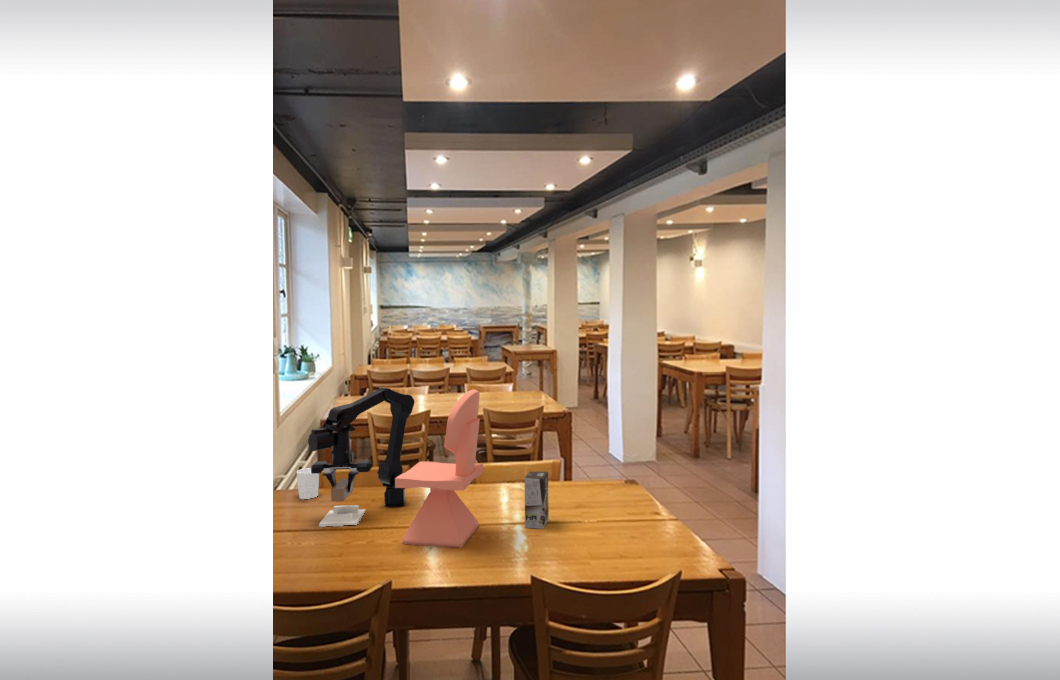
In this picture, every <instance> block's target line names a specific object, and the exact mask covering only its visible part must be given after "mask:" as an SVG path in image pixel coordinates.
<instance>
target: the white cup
mask: <svg viewBox="0 0 1060 680" xmlns="http://www.w3.org/2000/svg"><path fill="white" fill-rule="evenodd" d="M296 482H297V483H296V484H297V492H298V498H299V500H304V499H308V500H311V499H310V498H314V497H316V498H318V497H319V487H320V486H319V485H320V484H319V483H320V473H314V474H312V473H311V467H308V468H305V467H304V468H302V469H297V471H296ZM317 496H318V497H317ZM314 499H315V498H314Z"/></svg>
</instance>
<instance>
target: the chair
mask: <svg viewBox="0 0 1060 680" xmlns="http://www.w3.org/2000/svg"><path fill="white" fill-rule="evenodd" d="M479 404H480V391H479V390H477V389H474V388H473V389H470V390H469V391H466V392H465V393H464V394H463V395H462V396H461V397H459V398H458V400H457V401H456V402H455V403H454V405H453V406H452V408H451V410H450V413H449V414H448V418H447V422H446V429H445V430H446V431H445V439H444V444H443V447H444V448H445V449H446V450H448V451H449V452H451V453H453V455H454V456H455V457H454V458H455V463H448V462H447V463H444V462H437V461H422V460H421V461H418V462H417V463H416V464H415V465H413V467H412V468H411V467H410V469H409V470H407V471H406V472H403V474H401V475H399V476H398V477H396V478H395V488H405V489H414V488H415V489H416V488H417V489H418V488H424V489H425V488H426V489H427V488H428V489H429V490H430V491H429V493H428V494H427V496H426V498H425V500H424V501H423V503H422V505H421V506H420V508H419V510H418V511H417V513H416V514H415V517H414V518H413V520H412V522H411V523H410V525H409V527H408V528H407V530H406V532H405V534H404V535H403V537H402V540H401V541H402V542H401V543H402V544H401V545H410V544H411V545H412V546H428V547H429V546H430V547H440V548H441V547H442V546H443V547H444V548H445V547H446V548H457V547H459V549H460V548H461V549H462V548H463V547H464V545H465V544H466V543H467V542H468V540H469V539H470V538H471V537H472V535H473V534H475V532H476V531H477V529H479V527H480V525H479V523H480V522H479V521H478V519H477V518H476V517H475V515H474V514H473V513H472V512H471V510H470V509H469V508H468V507H467V505H466V504H465V502H464V501H463V500H462V498H460V497H459V495H458V494H457V492H455V491H460V492H461V491H462V492H463V491H465V490H466V489H468V487H469V486H470V484H471V483H472V481H474V480H475V479H476V478H478V477H480V476H481V475H482V474H483V472H484V468H483V467H484V464H483V463H476V458H477V456H476V455H477V449H478V440H479V431H480V430H479V429H480V419H481V418H478V416H479V408H480V407H479V406H480V405H479ZM411 545H410V546H411Z"/></svg>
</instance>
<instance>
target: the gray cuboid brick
mask: <svg viewBox="0 0 1060 680" xmlns="http://www.w3.org/2000/svg"><path fill="white" fill-rule="evenodd" d="M353 491H354V483H353V484H352V487H351V491H350V492H348V478H341V479H339V480H338V481H337V482H336V485H335V486H334V487H333V488H332V487H331V489H330V495H331V496H330V497H331V500H330V501H331V502H344V501H345V500H346V499H348V497H349V496H350V495H351V493H352V492H353Z"/></svg>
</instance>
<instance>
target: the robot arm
mask: <svg viewBox="0 0 1060 680" xmlns="http://www.w3.org/2000/svg"><path fill="white" fill-rule="evenodd" d="M383 402H385V403H387V404H389V405H390V409H389V410H390V413H391V416H392V421H391V426H390V431H389V432H390V433H389V440H388V443H387V452H386V455H385V456H386V457H385V459H384V460H383V462H379V463H378V469H377V473H376V474H377V475H378V476H377V477H378V480H379V481H380V482H381V485H382V487H385V491H384V492H383V493H384V497H383V498H384V499H383V500H384V504H385V505H384V507H385V508H393V507H394V508H395V507H398V508H399V507H405V504H406V502H407V499H406V488H395V478H396V477H398V476H399V475H401V474H403V473H404V471H403V465H402V462H401V461H402V460H401V456H402V451H403V445H404V438H405V432H406V425H407V419H409V417H410V415H411V414H412V412H413V409H414V406H415V398H414V397H413V396H412V395H410V394H405V393H400V392H397V391H394V390H392V389H391V388H389V387H383V386H382V387H379V388H378V389H376V390H375V391H373V392H371V393H369V394H367V395H365V396H363V397H360V398H359V399H357V400H355V401H353V402H351V403H348V404H347V403H346V404H342V405H341V404H340V405H338V406H334V407H332V408H331V409H330V410H329V412H328V416H327V417H326V419H325V421H324V423H323V425H322V426H321V428H318V429H317V428H315V429H314V428H312V429H311V431H310V434H309V436H308V439H307V444H308V447H309V449H310V451H312V452H315V451H321V450H328V449H330V448H331V459H332V463H328V461H327V460H320V461H318V460H317V461H315V462H314V463H313V464H312V465H311V467H310V468H311V473H312V474H314V473H319V474H321V473H322V476H323V477H324V476H325V477H326V479H327V480H328V482H329V483H330V486H331V489H332V488H333V487H334V486H335V485H336V484H337V477H336V475H337V474H336V472H337V471H336V470H349V473H348V475H347V479H348V492H350V491H351V487H352V484H353V485H354V481H355V478H356V476H357V475H359V473H369V472H370V471H371V469H373V466H372V465H373V463H372V460H371V459H359V460H358V461H357V462H356V463H353V462H354V460H355V458H354V457H355V452H354V451H352V450H351V449H352V448H351V435H350V433H351V432H354V431H356V428H355V427H354V426H353V425H352V423H353V422H354V421H355V420H356V419H357V417H359V415H361V414H362V413H364V412H366V411H368V410H370V409H372V408H374V407H375V406H377V405H380V404H381V403H383Z"/></svg>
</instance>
